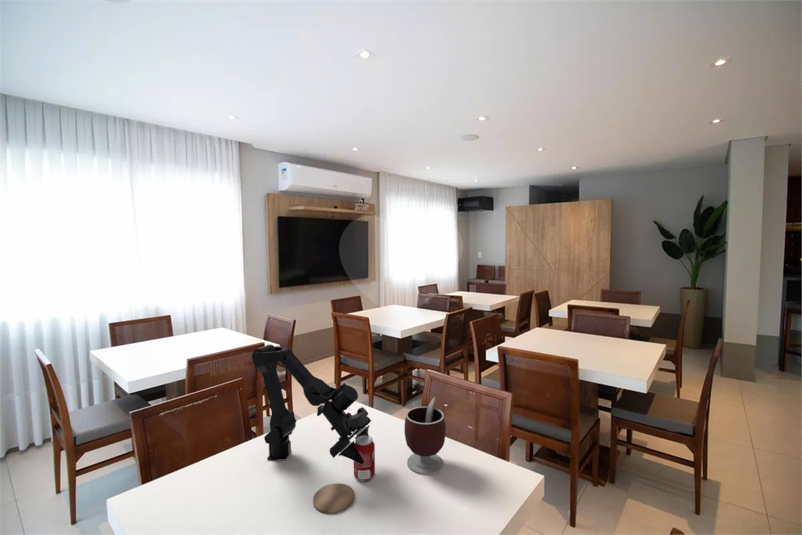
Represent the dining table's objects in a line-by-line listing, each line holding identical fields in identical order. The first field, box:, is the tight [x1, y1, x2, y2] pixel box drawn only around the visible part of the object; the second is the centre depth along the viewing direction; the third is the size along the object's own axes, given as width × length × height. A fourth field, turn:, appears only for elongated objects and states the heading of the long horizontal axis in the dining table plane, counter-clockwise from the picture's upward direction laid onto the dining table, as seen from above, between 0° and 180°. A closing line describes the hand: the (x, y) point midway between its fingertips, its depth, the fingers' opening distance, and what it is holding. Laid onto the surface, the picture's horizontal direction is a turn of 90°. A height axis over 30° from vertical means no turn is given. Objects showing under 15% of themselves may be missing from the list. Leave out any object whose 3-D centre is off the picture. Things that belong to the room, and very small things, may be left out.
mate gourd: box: [404, 396, 447, 476], centre depth 126 cm, size 16×14×20 cm
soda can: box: [353, 435, 376, 482], centre depth 119 cm, size 7×7×12 cm
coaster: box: [312, 482, 356, 515], centre depth 108 cm, size 12×12×1 cm
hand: (368, 457), depth 118 cm, fingers closed on soda can, 7 cm apart
